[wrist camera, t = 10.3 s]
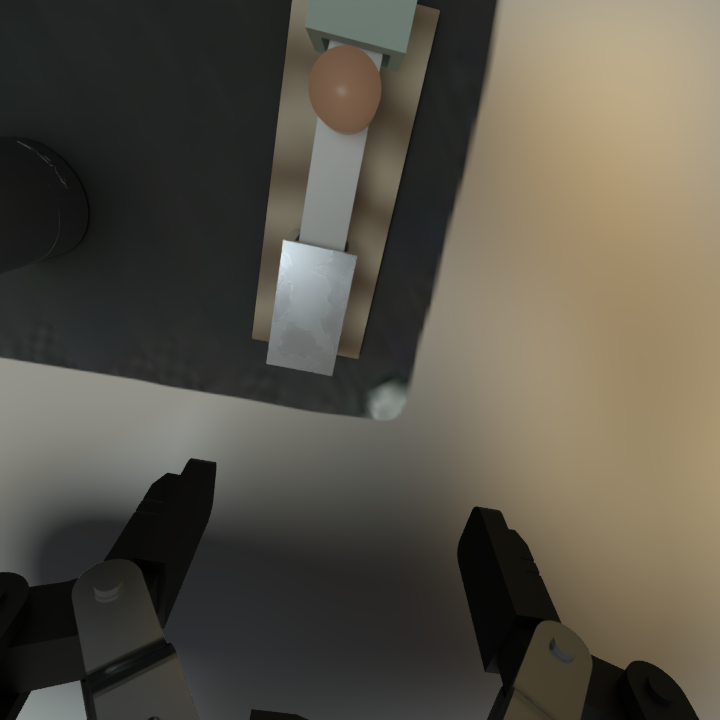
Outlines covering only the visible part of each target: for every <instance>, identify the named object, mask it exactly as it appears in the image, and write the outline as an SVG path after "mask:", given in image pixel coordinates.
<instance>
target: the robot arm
mask: <svg viewBox="0 0 720 720" xmlns="http://www.w3.org/2000/svg"><path fill="white" fill-rule="evenodd" d="M87 224H88V205H87V200H86V196H85V193H84V191H83V188H82V186H81V184H80V182H79V180H78V179H77V177H76V175H75V174H74V172H73V171H72V170H71V168H70V167H69V166H68V165H67V164H66V163H65V162H64V161H63V160H62V159H61V158H60V157H59V156H58V155H56V154H55V153H54V152H53V151H51V150H50V149H48V148H46V147H45V146H43V145H41V144H39V143H37V142H34V141H31V140H28V139H24V138H17V137H5V136H0V274H2V273H5V272H8V271H11V270H14V269H17V268H20V267H23V266H26V265H30V264H33V263H36V262H39V261H42V260H45V259H48V258H51V257H54V256H57V255H60V254H63V253H66V252H67V251H69V250H71V249H72V248H74V247H75V246H76V245H77V244H78V243H79V242H80V241H81V239H82V237H83V235H84V233H85V231H86V228H87ZM215 477H216V462H211V461H205V460H199V459H193V458H191V459H190V460H189V461H188V462H187V464H186V466H185V468H184V470H183V471H182V473H181V475H177V474H171V473H167V474H165V475H164V476H162V477H161V478H160V479H158V480H157V481H156V482H154V483H153V484H152V485H151V487H150V488H149V490H148V492H147V493H146V495H145V497H144V499H143V501H141V503H140V504H139V506H138V508H137V509H136V512H135V513H134V514H133V516H132V517H131V519H130V520H129V522H128V524H127V525H126V527H125V528H124V530H123V532H122V533H121V535H120V536H119V538H118V539H117V541H116V543H115V544H114V546H113V548H112V549H111V551H110V552H109V554H108V555H107V557H106V558H105V560H104V561H103V562H100V563H98V564H96V565H94V566H92V567H90V568H89V569H88V570H86V571H85V572H84V573H83V574H82V575H81V576H80V577H79V578H77V579H74V580H71V581H67V582H61V583H55V584H47V585H41V586H33V587H29V586H28V583H27V581H26V580H25V578H24V577H22V576H20V575H18V574H16V573H10V572H0V720H16V718H17V716H18V714H19V713H20V711H21V709H22V707H23V705H24V703H25V701H26V700H27V698H28V696H29V694H30V692H31V691H33V690H37V689H42V688H46V687H51V686H55V685H60V684H65V683H69V682H74V681H78V680H80V682H81V688H82V694H83V700H84V705H85V711H86V716H87V720H200V719H199V716H198V713H197V710H196V707H195V704H194V701H193V698H192V696H191V693H190V690H189V687H188V684H187V681H186V679H185V676H184V673H183V670H182V667H181V664H180V662H179V659H178V656H177V653H176V651H175V649H174V647H173V645H172V644H171V643H169V644H167V643H166V641H165V639H164V636H163V633H162V630H161V628H165V625H166V622H167V620H168V618H169V615H170V613H171V611H172V608H173V606H174V603H175V601H176V598H177V596H178V594H179V591H180V589H181V586H182V584H183V582H184V579H185V577H186V574H187V572H188V569H189V567H190V564H191V562H192V560H193V557H194V555H195V552H196V550H197V547H198V545H199V543H200V540H201V538H202V535H203V533H204V530H205V528H206V526H207V523H208V520H209V517H210V514H211V510H212V505H213V498H214V488H215ZM457 557H458V564H459V568H460V572H461V576H462V581H463V584H464V589H465V592H466V597H467V600H468V605H469V609H470V613H471V617H472V621H473V625H474V630H475V633H476V637H477V642H478V646H479V650H480V654H481V658H482V662H483V666H484V670H485V672H489V673H497V674H500V675H501V679H502V683H503V685H502V687H501V688H500V690H499V692H498V694H497V697H496V699H495V701H494V704H493V706H492V708H491V711H490V713H489V716H488V718H487V720H699V718H698V717H697V716H696V713H695V711H694V709H693V708H692V706H691V704H690V702H689V701H688V699H687V697H686V695H685V694H684V692H683V691H682V689H681V688H680V687H679V686H678V684H677V683H676V682H675V681H674V680H673V679H672V678H671V677H670V676H669V675H668V674H666V673H665V672H664V671H663V670H661V669H660V668H658V667H656V666H655V665H653V664H650V663H648V662H644V661H634V662H631V663H630V664H629V665H628V667H627V668H626V669H625V670H623V669H621V668H619V667H617V666H614V665H612V664H610V663H607V662H605V661H603V660H601V659H599V658H597V657H595V656H593V655H591V654H590V652H589V650H588V648H587V646H586V645H585V643H584V642H583V641H582V639H581V638H580V637H579V636H578V635H577V634H576V633H575V632H574V631H572V630H571V629H570V628H568V627H567V626H565V625H563V624H562V623H561V621H560V619H559V617H558V614H557V612H556V610H555V607H554V605H553V603H552V601H551V598H550V596H549V594H548V592H547V589H546V587H545V584H544V582H543V580H542V578H541V576H539V571H538V568H537V566H536V564H535V563H534V559H533V557H532V555H531V552H530V550H529V548H528V545H527V544H526V543H525V541H524V540H523V539H522V538H521V537H520V536H519V534H518V533H517V532H516V531H515V530H510V529H508V527H507V524H506V522H505V520H504V517H503V515H502V513H501V511H499V510H494V509H488V508H482V507H474V508H473V510H472V512H471V514H470V517H469V519H468V521H467V524H466V526H465V529H464V531H463V533H462V536H461V538H460V541H459V544H458V550H457ZM250 720H308V719H305V718H303V717H301V716H299V715H296V714H288V713H279V712H270V711H262V710H253V709H252V711H251V715H250Z"/></svg>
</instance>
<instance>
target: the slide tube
mask: <svg viewBox="0 0 720 720" xmlns="http://www.w3.org/2000/svg"><path fill="white" fill-rule="evenodd" d="M382 56H383V53H379V52H375V51H371V50H367V49H364V48H360V47H356V46H352V45H348V44H344V43H341V42H337V41H333V40H329V47H328V50H327V51H326V52H324V53H323V54H322V55H321V56H320V57H319V58H318V59H317V61H316V62H315V64H314V66H313V68H312V70H311V73H310V77H309V85H308V89H309V98H310V101H311V104H312V107H313V109H314V111H315V113H316V114H317V116H318V119H317V126H316V132H315V139H314V145H313V152H312V158H311V165H310V171H309V178H308V184H307V191H306V197H305V204H304V211H303V217H302V224H301V230H300V237H299V242H304V243H309V244H313V245H318V246H322V247H327V248H332V249H336V250H341V251H344V249H345V243H346V238H347V233H348V228H349V223H350V218H351V213H352V208H353V203H354V198H355V193H356V188H357V183H358V178H359V172H360V167H361V162H362V157H363V152H364V147H365V142H366V137H367V132H368V127H369V124H370V122H371V121H372V119H373V117H374V115H375V113H376V110H377V108H378V105H379V102H380V98H381V79H380V75H379V71H380V66H381V61H382Z"/></svg>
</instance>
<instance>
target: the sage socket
mask: <svg viewBox="0 0 720 720" xmlns="http://www.w3.org/2000/svg"><path fill="white" fill-rule="evenodd" d="M416 4H417V0H309V2H308V9H307V17H306V24H305V28H306V30H307V33H308V35H309V38H310V40H311V42H312V45H313V47H314V50H315V51H317V52H320V53H324V52H326V51H327V50H328V47H329V40H333V41H337V42H341V43H344V44H348V45H352V46H356V47H360V48H364V49H367V50H371V51H375V52H379V53H383V56H382V61H381V66H380V68H383V69H387V70H390V71H394V72H398V69H399V67H400V65H401V63H402V61H403V58H404V56H405V54H406V50H407V46H408V41H409V36H410V32H411V27H412V23H413V18H414V13H415V9H416Z"/></svg>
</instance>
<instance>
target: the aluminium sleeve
mask: <svg viewBox="0 0 720 720" xmlns="http://www.w3.org/2000/svg"><path fill="white" fill-rule="evenodd" d="M299 237H300V230H297V229H293V230H292V231H291V232H290V233H289V234H288V235H287V236H286V238H285V239H284V240H283V246H282V253H281V261H280V268H279V275H278V282H277V289H276V297H275V304H274V311H273V318H272V326H271V333H270V340H269V347H268V355H267V362H266V364H271V365H276V366H282V367H287V368H292V369H298V370H303V371H308V372H313V373H319V374H324V375H329V376H332V373H333V369H334V364H335V359H336V354H337V350H338V345H339V340H340V335H341V331H342V326H343V321H344V316H345V312H346V307H347V302H348V297H349V293H350V288H351V283H352V278H353V274H354V269H355V264H356V259H357V242H352V241H348V240H346V243H345V249H344V251H341V250H336V249H332V248H327V247H322V246H318V245H313V244H309V243H304V242H299Z"/></svg>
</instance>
